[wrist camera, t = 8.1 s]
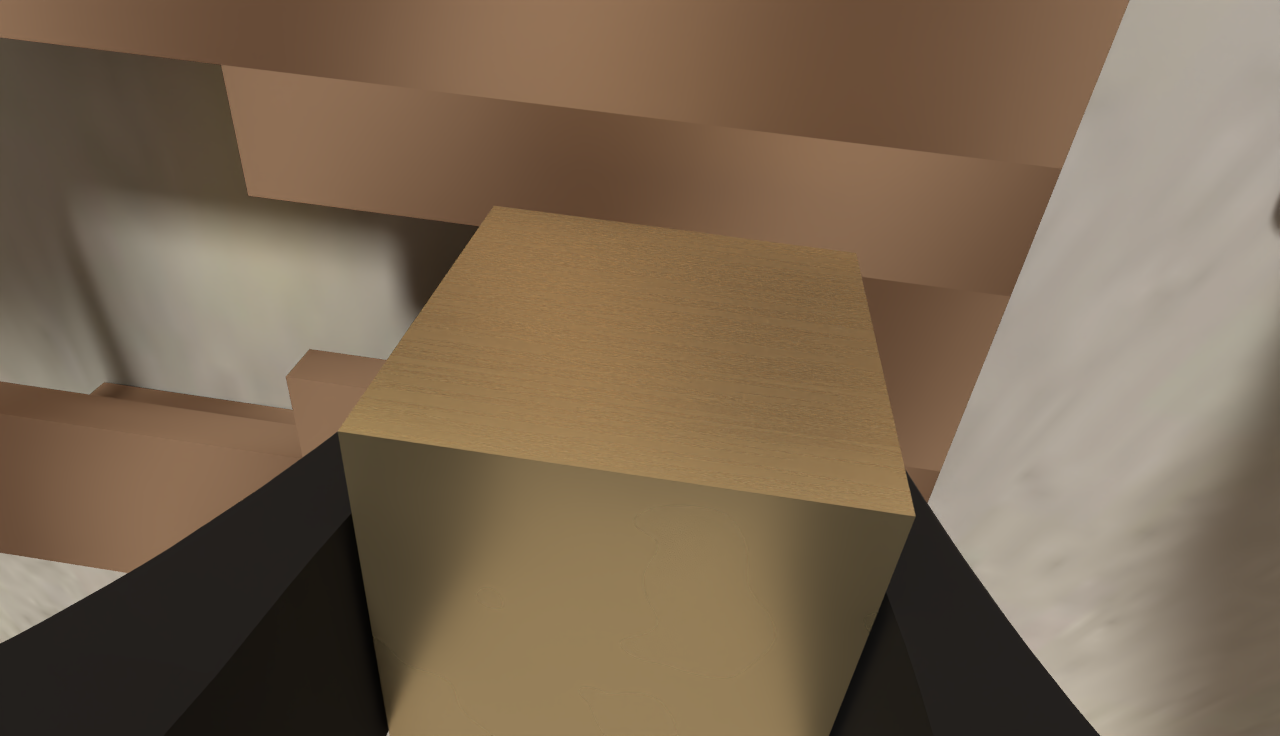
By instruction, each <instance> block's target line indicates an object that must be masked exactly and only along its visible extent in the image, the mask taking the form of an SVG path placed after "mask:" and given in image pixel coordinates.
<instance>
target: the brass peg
mask: <svg viewBox="0 0 1280 736" xmlns="http://www.w3.org/2000/svg"><path fill="white" fill-rule="evenodd" d="M338 436H339V442H340V448H341V454H342V460H343V465H344V471H345V477H346V483H347V489H348V495H349V500H350V506H351V512H352V518H353V524H354V530H355V535H356V541H357V547H358V553H359V559H360V565H361V570H362V576H363V582H364V588H365V594H366V600H367V605H368V611H369V617H370V623H371V629H372V635H373V640H374V646H375V652H376V658H377V664H378V670H379V675H380V681H381V687H382V693H383V699H384V705H385V710H386V716H387V722H388V728H389V734H390V736H829V734H830V732H831V729H832V727H833V724H834V721H835V719H836V716H837V714H838V711H839V709H840V706H841V704H842V701H843V699H844V696H845V694H846V691H847V689H848V686H849V684H850V681H851V679H852V676H853V673H854V671H855V668H856V666H857V663H858V661H859V658H860V656H861V653H862V651H863V648H864V646H865V643H866V641H867V638H868V636H869V633H870V631H871V628H872V625H873V623H874V620H875V618H876V615H877V613H878V610H879V608H880V605H881V603H882V600H883V598H884V595H885V593H886V590H887V588H888V585H889V583H890V580H891V577H892V575H893V572H894V570H895V567H896V565H897V562H898V560H899V557H900V555H901V552H902V550H903V547H904V545H905V542H906V540H907V537H908V535H909V532H910V529H911V527H912V524H913V522H914V519H915V517H916V516H915V511H914V507H913V502H912V498H911V494H910V489H909V485H908V480H907V476H906V471H905V467H904V463H903V458H902V454H901V449H900V445H899V440H898V436H897V432H896V427H895V423H894V418H893V414H892V409H891V405H890V401H889V396H888V392H887V387H886V383H885V378H884V374H883V370H882V365H881V361H880V356H879V352H878V347H877V343H876V339H875V334H874V330H873V325H872V321H871V316H870V312H869V308H868V303H867V299H866V294H865V290H864V285H863V281H862V277H861V272H860V268H859V263H858V259H857V254H856V253H852V252H845V251H837V250H830V249H822V248H814V247H807V246H799V245H791V244H784V243H776V242H768V241H761V240H753V239H745V238H738V237H730V236H722V235H715V234H707V233H699V232H692V231H684V230H677V229H669V228H661V227H654V226H646V225H638V224H631V223H623V222H615V221H608V220H600V219H592V218H585V217H577V216H569V215H562V214H554V213H546V212H539V211H531V210H523V209H516V208H508V207H501V206H493V208H492V209H491V211H490V212H489V214H488V215H487V216H486V218H485V219H484V221H483V222H482V224H481V225H480V227H479V228H478V229H477V231H476V232H475V234H474V235H473V237H472V238H471V240H470V241H469V242H468V244H467V245H466V247H465V248H464V250H463V251H462V253H461V254H460V255H459V257H458V258H457V260H456V261H455V263H454V264H453V266H452V267H451V268H450V270H449V271H448V273H447V274H446V276H445V277H444V278H443V280H442V281H441V283H440V284H439V286H438V287H437V289H436V290H435V291H434V293H433V294H432V296H431V297H430V299H429V300H428V302H427V303H426V304H425V306H424V307H423V309H422V310H421V312H420V313H419V315H418V316H417V317H416V319H415V320H414V322H413V323H412V325H411V326H410V328H409V329H408V330H407V332H406V333H405V335H404V336H403V338H402V339H401V341H400V342H399V343H398V345H397V346H396V348H395V349H394V351H393V352H392V353H391V355H390V356H389V358H388V359H387V361H386V362H385V364H384V365H383V366H382V368H381V369H380V371H379V372H378V374H377V375H376V377H375V378H374V379H373V381H372V382H371V384H370V385H369V387H368V388H367V390H366V391H365V392H364V394H363V395H362V397H361V398H360V400H359V401H358V403H357V404H356V405H355V407H354V408H353V410H352V411H351V413H350V414H349V416H348V417H347V418H346V420H345V421H344V423H343V424H342V426H341V427H340V428H339V430H338Z"/></svg>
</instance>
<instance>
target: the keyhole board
mask: <svg viewBox="0 0 1280 736" xmlns="http://www.w3.org/2000/svg"><path fill="white" fill-rule="evenodd" d="M1128 3H1129V0H0V37H1V38H9V39H17V40H25V41H33V42H41V43H49V44H57V45H65V46H74V47H82V48H90V49H98V50H106V51H114V52H122V53H130V54H138V55H146V56H154V57H162V58H171V59H179V60H187V61H195V62H203V63H211V64H219V65H221V67H222V72H223V77H224V81H225V86H226V91H227V96H228V101H229V106H230V110H231V115H232V120H233V125H234V130H235V134H236V139H237V144H238V149H239V154H240V158H241V163H242V168H243V173H244V178H245V183H246V187H247V192H248V196H255V197H262V198H270V199H277V200H285V201H292V202H300V203H307V204H315V205H323V206H330V207H338V208H345V209H353V210H360V211H368V212H375V213H383V214H391V215H398V216H406V217H413V218H421V219H428V220H436V221H443V222H451V223H459V224H466V225H474V226H480V225H481V224H482V222H483V221H484V219H485V218H486V216H487V215H488V214H489V212H490V211H491V209H492V208H493V206H501V207H508V208H516V209H523V210H531V211H539V212H546V213H554V214H562V215H569V216H577V217H585V218H592V219H600V220H608V221H615V222H623V223H631V224H638V225H646V226H654V227H661V228H669V229H677V230H684V231H692V232H699V233H707V234H715V235H722V236H730V237H738V238H745V239H753V240H761V241H768V242H776V243H784V244H791V245H799V246H807V247H814V248H822V249H830V250H837V251H845V252H852V253H856V254H857V259H858V263H859V268H860V272H861V277H862V281H863V285H864V290H865V294H866V299H867V303H868V308H869V312H870V316H871V321H872V325H873V330H874V334H875V339H876V343H877V347H878V352H879V356H880V361H881V365H882V370H883V374H884V378H885V383H886V387H887V392H888V396H889V401H890V405H891V409H892V414H893V418H894V423H895V427H896V432H897V436H898V440H899V445H900V449H901V454H902V458H903V463H904V467H905V469H906V471H907V472H908V474H909V476H910V477H911V479H912V480H913V482H914V483H915V485H916V486H917V488H918V490H919V491H920V493H921V494H922V496H923V497H924V499H925V500H926V502H927V503H928V500H929V498H930V495H931V493H932V490H933V488H934V485H935V483H936V480H937V478H938V475H939V473H940V470H941V468H942V466H943V463H944V461H945V458H946V456H947V453H948V451H949V448H950V446H951V443H952V441H953V438H954V436H955V433H956V431H957V428H958V426H959V423H960V421H961V418H962V416H963V413H964V411H965V408H966V406H967V403H968V401H969V398H970V396H971V393H972V391H973V388H974V386H975V383H976V381H977V378H978V376H979V373H980V371H981V368H982V366H983V364H984V361H985V359H986V356H987V354H988V351H989V349H990V346H991V344H992V341H993V339H994V336H995V334H996V331H997V329H998V326H999V324H1000V321H1001V319H1002V316H1003V314H1004V311H1005V309H1006V306H1007V304H1008V301H1009V299H1010V296H1011V294H1012V291H1013V289H1014V286H1015V284H1016V281H1017V279H1018V276H1019V274H1020V271H1021V269H1022V267H1023V264H1024V262H1025V259H1026V257H1027V254H1028V252H1029V249H1030V247H1031V244H1032V242H1033V239H1034V237H1035V234H1036V232H1037V229H1038V227H1039V224H1040V222H1041V219H1042V217H1043V214H1044V212H1045V209H1046V207H1047V204H1048V202H1049V199H1050V197H1051V194H1052V192H1053V189H1054V187H1055V184H1056V182H1057V179H1058V177H1059V174H1060V172H1061V169H1062V167H1063V165H1064V162H1065V160H1066V157H1067V155H1068V152H1069V150H1070V147H1071V145H1072V142H1073V140H1074V137H1075V135H1076V132H1077V130H1078V127H1079V125H1080V122H1081V120H1082V117H1083V115H1084V112H1085V110H1086V107H1087V105H1088V102H1089V100H1090V97H1091V95H1092V92H1093V90H1094V87H1095V85H1096V82H1097V80H1098V77H1099V75H1100V72H1101V70H1102V68H1103V65H1104V63H1105V60H1106V58H1107V55H1108V53H1109V50H1110V48H1111V45H1112V43H1113V40H1114V38H1115V35H1116V33H1117V30H1118V28H1119V25H1120V23H1121V20H1122V18H1123V15H1124V13H1125V10H1126V8H1127V5H1128ZM386 361H387V360H382V359H375V358H368V357H361V356H354V355H347V354H340V353H333V352H326V351H319V350H312V349H309V350H308V352H307V353H306V354H305V355H304V356H303V357H302V359H301V360H300V361H299V362H298V363H297V364H296V366H295V367H294V368H293V369H292V370H291V371H290V373H289V374H288V375H287V376H286V380H287V385H288V390H289V394H290V399H291V404H292V409H293V410H290V409H283V408H276V407H269V406H262V405H256V404H249V403H242V402H235V401H228V400H221V399H215V398H208V397H201V396H194V395H187V394H181V393H174V392H167V391H160V390H153V389H146V388H140V387H133V386H126V385H119V384H112V383H105V382H104V383H103V384H102V385H100V386H99V387H98V388H97V389H96V390H95V391H93V392H92V393H91V394H90V395H88V394H81V393H74V392H67V391H61V390H54V389H47V388H40V387H34V386H27V385H20V384H13V383H7V382H0V553H6V554H13V555H19V556H25V557H31V558H38V559H44V560H50V561H56V562H63V563H69V564H75V565H82V566H88V567H94V568H100V569H107V570H113V571H119V572H125V573H129V572H131V571H132V570H134V569H136V568H137V567H139V566H141V565H142V564H144V563H146V562H147V561H149V560H151V559H152V558H154V557H156V556H157V555H159V554H160V553H162V552H164V551H165V550H167V549H169V548H170V547H172V546H173V545H175V544H176V543H178V542H179V541H181V540H182V539H184V538H185V537H187V536H188V535H190V534H191V533H193V532H194V531H196V530H197V529H199V528H200V527H202V526H204V525H205V524H207V523H208V522H210V521H211V520H213V519H214V518H216V517H217V516H219V515H220V514H222V513H223V512H225V511H226V510H228V509H229V508H231V507H232V506H234V505H235V504H237V503H238V502H240V501H241V500H243V499H244V498H246V497H247V496H249V495H250V494H252V493H253V492H255V491H256V490H258V489H259V488H261V487H262V486H264V485H265V484H266V483H268V482H269V481H270V480H272V479H273V478H275V477H276V476H277V475H279V474H280V473H282V472H283V471H284V470H286V469H287V468H288V467H290V466H291V465H293V464H294V463H295V462H297V461H298V460H300V459H301V458H302V457H304V456H305V455H306V454H308V453H309V452H311V451H312V450H313V449H315V448H316V447H318V446H319V445H320V444H322V443H323V442H324V441H326V440H327V439H328V438H330V437H331V436H332V435H334V434H335V433H336V432H338V430H339V428H340V427H341V426H342V424H343V423H344V421H345V420H346V418H347V417H348V416H349V414H350V413H351V411H352V410H353V408H354V407H355V405H356V404H357V403H358V401H359V400H360V398H361V397H362V395H363V394H364V392H365V391H366V390H367V388H368V387H369V385H370V384H371V382H372V381H373V379H374V378H375V377H376V375H377V374H378V372H379V371H380V369H381V368H382V366H383V365H384V364H385V362H386Z"/></svg>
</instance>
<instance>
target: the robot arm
mask: <svg viewBox="0 0 1280 736" xmlns="http://www.w3.org/2000/svg"><path fill="white" fill-rule="evenodd" d="M905 471H906V469H905ZM906 476H907V480H908V485H909V489H910V494H911V498H912V502H913V507H914V511H915V516H916V517H915V519H914V522H913V524H912V527H911V529H910V532H909V535H908V537H907V540H906V542H905V545H904V547H903V550H902V552H901V555H900V557H899V560H898V562H897V565H896V567H895V570H894V572H893V575H892V577H891V580H890V583H889V585H888V588H887V590H886V593H885V595H884V598H883V600H882V603H881V605H880V608H879V610H878V613H877V615H876V618H875V620H874V623H873V625H872V628H871V631H870V633H869V636H868V638H867V641H866V643H865V646H864V648H863V651H862V653H861V656H860V658H859V661H858V663H857V666H856V668H855V671H854V673H853V676H852V679H851V681H850V684H849V686H848V689H847V691H846V694H845V696H844V699H843V701H842V704H841V706H840V709H839V711H838V714H837V716H836V719H835V721H834V724H833V727H832V729H831V732H830V734H829V736H1100V735H1099V734H1098V733H1097V732H1096V730H1095V729H1094V728H1093V727H1092V726H1091V724H1090V723H1089V722H1088V721H1087V720H1086V719H1085V717H1084V716H1083V715H1082V714H1081V713H1080V711H1079V710H1078V709H1077V708H1076V707H1075V705H1074V704H1073V703H1072V702H1071V701H1070V699H1069V698H1068V697H1067V696H1066V694H1065V693H1064V692H1063V690H1062V689H1061V688H1060V687H1059V685H1058V684H1057V683H1056V682H1055V680H1054V679H1053V678H1052V677H1051V675H1050V674H1049V673H1048V672H1047V670H1046V669H1045V668H1044V666H1043V665H1042V664H1041V663H1040V661H1039V660H1038V659H1037V658H1036V656H1035V655H1034V654H1033V653H1032V651H1031V650H1030V649H1029V647H1028V646H1027V645H1026V643H1025V642H1024V641H1023V639H1022V638H1021V637H1020V635H1019V634H1018V633H1017V631H1016V630H1015V629H1014V627H1013V626H1012V625H1011V623H1010V622H1009V621H1008V619H1007V618H1006V617H1005V615H1004V614H1003V612H1002V611H1001V610H1000V608H999V607H998V605H997V604H996V603H995V601H994V600H993V598H992V597H991V596H990V594H989V593H988V591H987V590H986V589H985V587H984V586H983V584H982V583H981V582H980V580H979V579H978V577H977V576H976V575H975V573H974V572H973V570H972V569H971V568H970V566H969V565H968V563H967V562H966V560H965V559H964V558H963V556H962V555H961V553H960V552H959V550H958V549H957V547H956V546H955V544H954V543H953V541H952V540H951V538H950V537H949V535H948V534H947V532H946V531H945V529H944V528H943V526H942V525H941V523H940V522H939V520H938V519H937V517H936V516H935V514H934V513H933V511H932V510H931V508H930V507H929V505H928V504H927V502H926V500H925V499H924V497H923V496H922V494H921V493H920V491H919V490H918V488H917V486H916V485H915V483H914V482H913V480H912V479H911V477H910V476H909V474H908V472H907V471H906ZM388 731H389V728H388V722H387V716H386V710H385V705H384V699H383V693H382V687H381V681H380V675H379V670H378V664H377V658H376V652H375V646H374V640H373V635H372V629H371V623H370V617H369V611H368V605H367V600H366V594H365V588H364V582H363V576H362V570H361V565H360V559H359V553H358V547H357V541H356V535H355V530H354V524H353V518H352V512H351V506H350V500H349V495H348V489H347V483H346V477H345V471H344V465H343V460H342V454H341V448H340V442H339V436H338V432H336V433H335V434H334V435H332V436H331V437H330V438H328V439H327V440H326V441H324V442H323V443H322V444H320V445H319V446H318V447H316V448H315V449H313V450H312V451H311V452H309V453H308V454H306V455H305V456H304V457H302V458H301V459H300V460H298V461H297V462H295V463H294V464H293V465H291V466H290V467H288V468H287V469H286V470H284V471H283V472H282V473H280V474H279V475H277V476H276V477H275V478H273V479H272V480H270V481H269V482H268V483H266V484H265V485H264V486H262V487H261V488H259V489H258V490H256V491H255V492H253V493H252V494H250V495H249V496H247V497H246V498H244V499H243V500H241V501H240V502H238V503H237V504H235V505H234V506H232V507H231V508H229V509H228V510H226V511H225V512H223V513H222V514H220V515H219V516H217V517H216V518H214V519H213V520H211V521H210V522H208V523H207V524H205V525H204V526H202V527H200V528H199V529H197V530H196V531H194V532H193V533H191V534H190V535H188V536H187V537H185V538H184V539H182V540H181V541H179V542H178V543H176V544H175V545H173V546H172V547H170V548H169V549H167V550H165V551H164V552H162V553H160V554H159V555H157V556H156V557H154V558H152V559H151V560H149V561H147V562H146V563H144V564H142V565H141V566H139V567H137V568H136V569H134V570H132V571H131V572H129V573H127V574H126V575H124V576H122V577H121V578H119V579H117V580H115V581H114V582H112V583H110V584H109V585H107V586H105V587H103V588H102V589H100V590H98V591H96V592H94V593H93V594H91V595H89V596H87V597H85V598H84V599H82V600H80V601H78V602H77V603H75V604H73V605H71V606H69V607H68V608H66V609H64V610H62V611H60V612H59V613H57V614H55V615H53V616H52V617H50V618H48V619H46V620H44V621H43V622H41V623H39V624H37V625H35V626H33V627H31V628H29V629H28V630H26V631H24V632H22V633H20V634H18V635H16V636H14V637H13V638H11V639H9V640H7V641H5V642H3V643H0V736H386V735H387V733H388Z"/></svg>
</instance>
